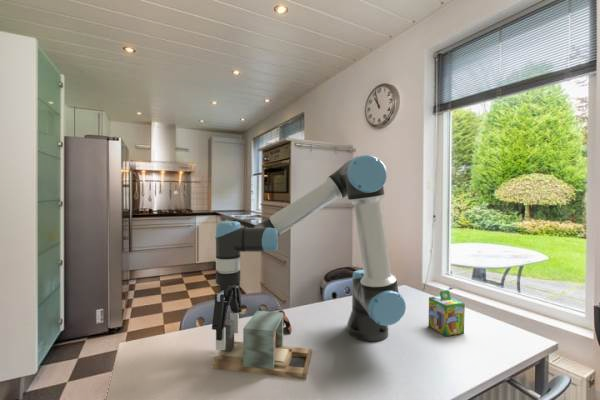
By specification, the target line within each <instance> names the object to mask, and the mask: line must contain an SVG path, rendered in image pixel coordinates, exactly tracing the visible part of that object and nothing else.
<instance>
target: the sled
mask: <svg viewBox="0 0 600 400" xmlns="http://www.w3.org/2000/svg"><path fill="white" fill-rule="evenodd" d="M224 327H225V328H226V334H225V350H220V351H221V352H222V351H223V352H222V353H221V352H220V353H221V354H220V353H219V354H220V356H226V357H235V358H243V345H242V344H234V341H235V333H234V320H230V319H225V325H224ZM275 337H276V331H275ZM288 352H289V349H282V348H275V358H274V362H281V363H285V360H286V358H287V355H288Z"/></svg>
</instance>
